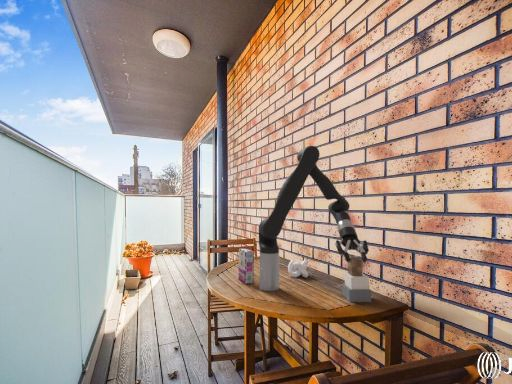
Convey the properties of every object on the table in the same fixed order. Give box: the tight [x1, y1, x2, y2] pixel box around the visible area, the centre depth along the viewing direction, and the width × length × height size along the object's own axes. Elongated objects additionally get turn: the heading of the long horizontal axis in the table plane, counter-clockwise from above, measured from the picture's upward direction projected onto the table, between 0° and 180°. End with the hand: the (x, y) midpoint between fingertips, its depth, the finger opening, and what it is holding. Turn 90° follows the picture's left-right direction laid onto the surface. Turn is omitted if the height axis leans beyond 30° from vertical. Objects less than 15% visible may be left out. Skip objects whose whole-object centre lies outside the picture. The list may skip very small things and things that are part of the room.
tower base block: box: [341, 283, 372, 303], centre depth 108 cm, size 9×9×5 cm
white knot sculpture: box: [287, 258, 309, 278], centre depth 142 cm, size 11×12×9 cm
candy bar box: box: [238, 248, 255, 285], centre depth 133 cm, size 11×5×16 cm, turn 22°
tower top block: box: [344, 272, 370, 289], centre depth 108 cm, size 8×8×5 cm
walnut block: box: [347, 256, 364, 276], centre depth 108 cm, size 4×4×7 cm
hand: (356, 261), depth 107 cm, fingers open, 6 cm apart
